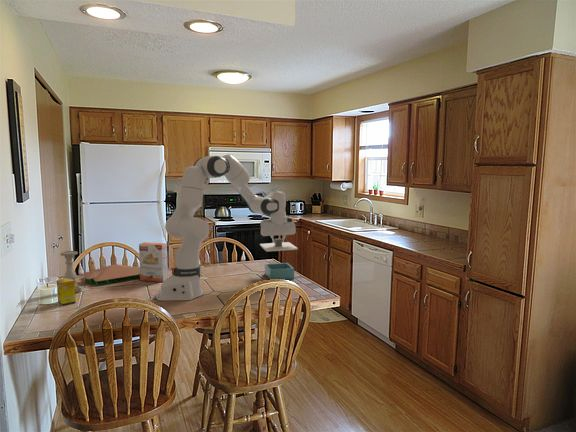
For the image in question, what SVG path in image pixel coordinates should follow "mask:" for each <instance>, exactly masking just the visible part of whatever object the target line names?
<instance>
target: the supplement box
mask: <svg viewBox="0 0 576 432" xmlns="http://www.w3.org/2000/svg"><path fill="white" fill-rule="evenodd" d="M75 286H76V284H75V285H74V280H72V279H71V278H66V279H65V278H62V279H61V278H59V279H57V280H56V288H57V289H56V290H57V303H58V304H60V306H61V307H62V306H68V305H72V304H76V293H75Z"/></svg>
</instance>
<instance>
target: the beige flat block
mask: <svg viewBox="0 0 576 432" xmlns="http://www.w3.org/2000/svg"><path fill="white" fill-rule="evenodd" d="M137 276H138V277H137ZM82 277H84V278H85V279H86V280H87V281H88V283H89V284H90V285H92V282H93V284H94V285H96V286H99V287H100V285H101V284H108V285H110V283H112V280H115V282H118V280H117V279H121V281H124V278H127V280H130V278H133V280H135V279H136V280H138V279H140V266H135V265H134V266H131V265H127V264H126V265H125V264H119V263H118V264H110V265H107V266H104V267H99V268H97V269H96V268H95V269H93V270H89V271H86V272H84V274H83V275H82Z"/></svg>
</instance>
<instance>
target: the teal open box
mask: <svg viewBox="0 0 576 432" xmlns="http://www.w3.org/2000/svg"><path fill="white" fill-rule="evenodd" d="M264 274H265V276H266V277H267V279H268V280H269V279H283V280H292V279H295V268H294V267H293V266H292V265H291V264H290V263H289V262H278V263H277V262H275V263H266V264H264Z"/></svg>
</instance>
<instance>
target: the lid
mask: <svg viewBox="0 0 576 432" xmlns="http://www.w3.org/2000/svg"><path fill="white" fill-rule="evenodd" d="M282 239H283V238H280V237H279V238H274V240H276V243H273V242H269V243H267V242H265V243H259V246H260V247H261V248H262V249H263V250H264V251H265V252H278V251H280V252H282V251H297V250H299V248H298V247H297V246H295V245H294V244H292V243H291V242H290V241H286V242H285V241H284V243H282Z"/></svg>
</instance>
